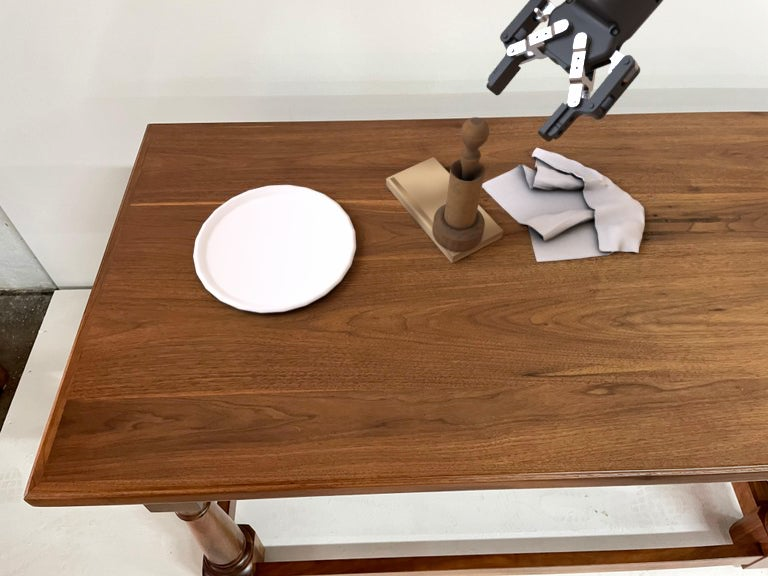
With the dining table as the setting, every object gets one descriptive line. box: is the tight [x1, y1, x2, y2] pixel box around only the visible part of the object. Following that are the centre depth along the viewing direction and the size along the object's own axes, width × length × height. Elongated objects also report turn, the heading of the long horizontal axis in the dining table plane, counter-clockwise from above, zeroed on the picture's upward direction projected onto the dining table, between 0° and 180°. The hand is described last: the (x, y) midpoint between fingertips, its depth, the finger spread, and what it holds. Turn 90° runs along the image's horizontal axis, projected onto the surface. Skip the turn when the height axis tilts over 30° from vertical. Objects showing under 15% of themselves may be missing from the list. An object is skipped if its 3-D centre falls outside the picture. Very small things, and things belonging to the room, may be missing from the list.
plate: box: [193, 184, 357, 314], centre depth 78 cm, size 21×21×1 cm
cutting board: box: [385, 156, 504, 264], centre depth 81 cm, size 16×8×2 cm, turn 32°
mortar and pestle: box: [432, 116, 490, 252], centre depth 70 cm, size 7×6×18 cm
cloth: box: [482, 147, 646, 263], centre depth 81 cm, size 20×22×2 cm
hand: (516, 114), depth 63 cm, fingers open, 8 cm apart
